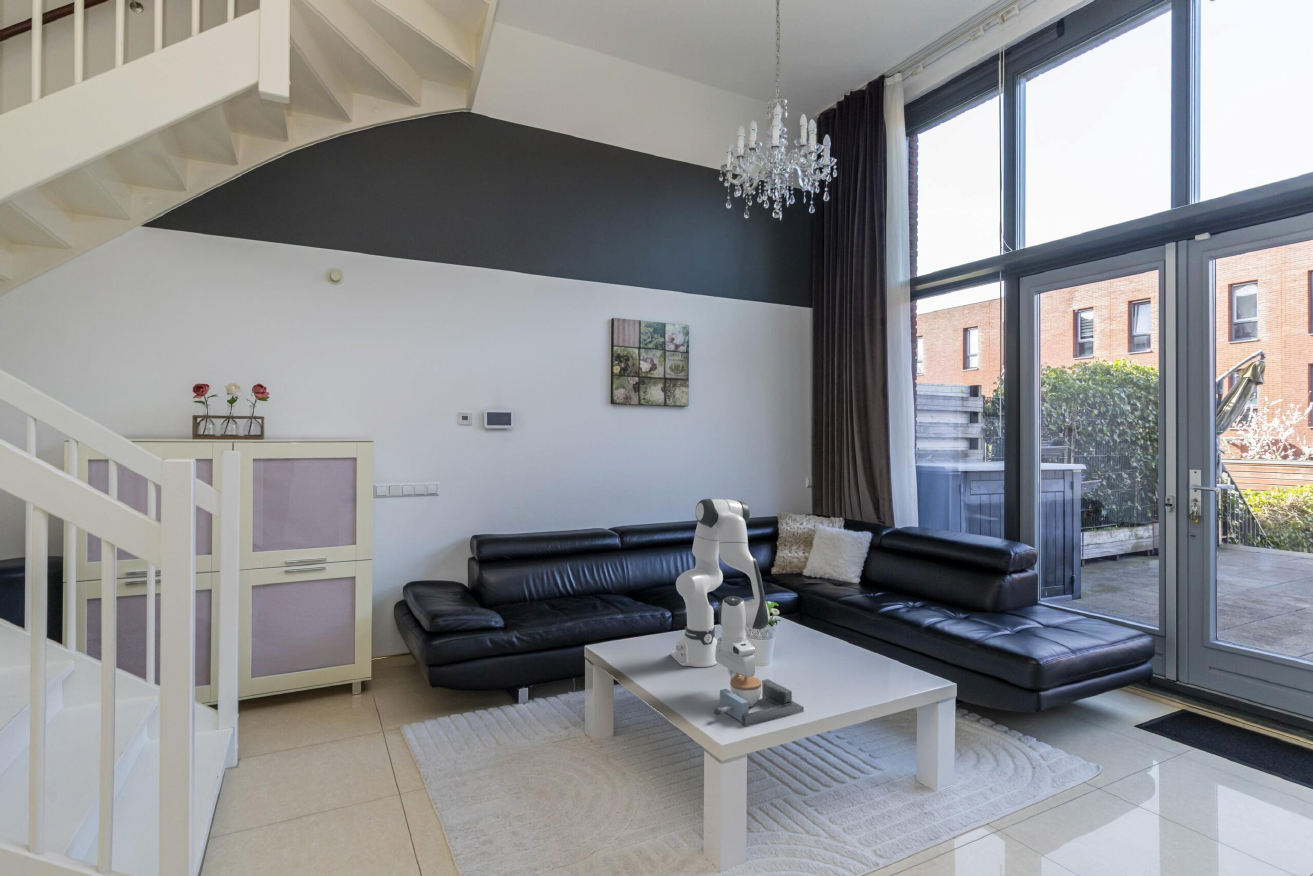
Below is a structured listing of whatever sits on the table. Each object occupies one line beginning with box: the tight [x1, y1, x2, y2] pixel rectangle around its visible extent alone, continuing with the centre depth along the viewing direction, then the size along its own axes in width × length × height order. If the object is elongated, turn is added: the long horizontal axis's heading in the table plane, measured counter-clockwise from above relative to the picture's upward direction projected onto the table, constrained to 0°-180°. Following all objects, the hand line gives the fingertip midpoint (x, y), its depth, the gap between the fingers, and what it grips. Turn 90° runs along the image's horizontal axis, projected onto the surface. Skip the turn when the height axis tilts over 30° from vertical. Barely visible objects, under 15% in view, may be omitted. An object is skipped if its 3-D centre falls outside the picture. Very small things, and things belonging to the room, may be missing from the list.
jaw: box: [713, 688, 750, 723], centre depth 218 cm, size 13×10×6 cm
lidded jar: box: [730, 675, 762, 708], centre depth 229 cm, size 11×11×9 cm
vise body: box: [741, 678, 805, 728], centre depth 223 cm, size 16×24×6 cm, turn 118°
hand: (734, 682), depth 235 cm, fingers closed
